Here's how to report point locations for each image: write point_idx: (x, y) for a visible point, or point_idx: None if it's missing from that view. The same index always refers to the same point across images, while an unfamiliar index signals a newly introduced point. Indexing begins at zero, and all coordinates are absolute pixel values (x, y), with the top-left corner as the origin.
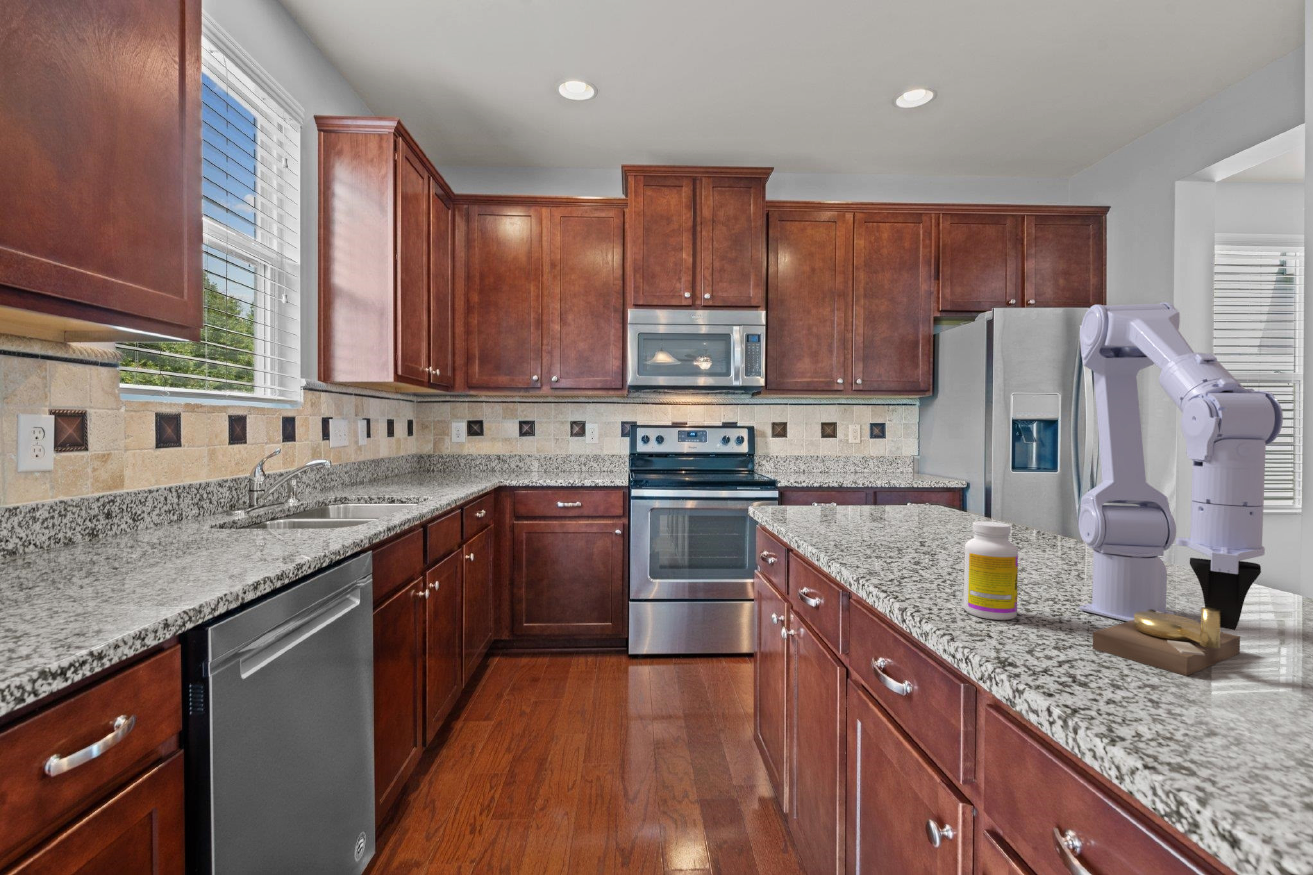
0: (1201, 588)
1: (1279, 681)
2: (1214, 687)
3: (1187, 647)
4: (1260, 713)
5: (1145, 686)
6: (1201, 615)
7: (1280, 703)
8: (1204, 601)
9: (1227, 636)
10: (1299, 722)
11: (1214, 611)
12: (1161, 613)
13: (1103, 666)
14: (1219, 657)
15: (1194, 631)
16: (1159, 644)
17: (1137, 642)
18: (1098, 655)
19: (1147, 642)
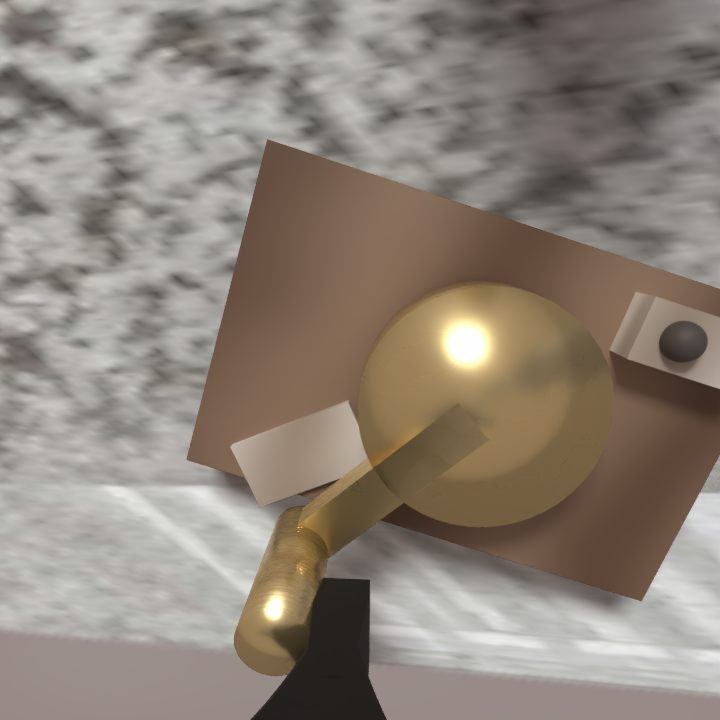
0: (273, 699)
1: (371, 624)
2: (167, 493)
3: (296, 462)
4: (46, 571)
5: (6, 342)
6: (263, 585)
7: (168, 611)
8: (309, 643)
9: (606, 568)
10: (57, 630)
11: (238, 653)
12: (593, 391)
13: (95, 215)
14: None
15: (340, 508)
16: (284, 378)
17: (246, 310)
18: (213, 183)
19: (282, 341)
